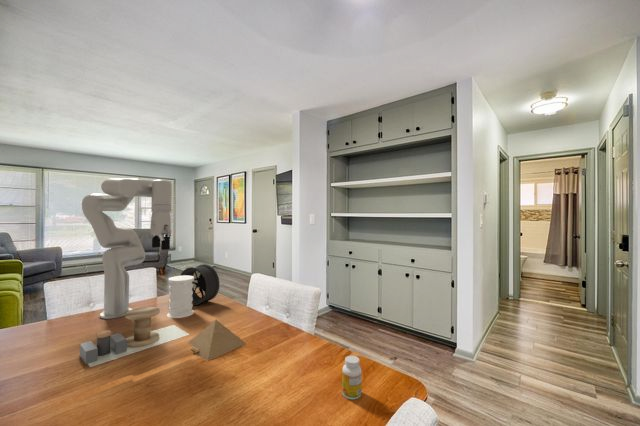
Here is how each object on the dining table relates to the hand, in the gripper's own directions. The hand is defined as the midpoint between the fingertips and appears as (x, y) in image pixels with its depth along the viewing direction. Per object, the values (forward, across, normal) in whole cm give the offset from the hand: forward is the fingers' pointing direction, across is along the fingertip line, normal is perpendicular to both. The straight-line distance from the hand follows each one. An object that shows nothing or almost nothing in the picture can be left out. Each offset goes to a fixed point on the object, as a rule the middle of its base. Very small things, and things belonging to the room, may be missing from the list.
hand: (160, 248), depth 122 cm
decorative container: (+34, -4, +11) cm, 35 cm away
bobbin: (+32, +13, -11) cm, 36 cm away
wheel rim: (+34, -16, +26) cm, 45 cm away
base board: (+33, +14, -12) cm, 38 cm away
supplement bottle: (+34, +88, +16) cm, 96 cm away
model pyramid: (+34, +34, +6) cm, 48 cm away
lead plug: (+32, +14, -23) cm, 42 cm away
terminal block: (+32, +14, -23) cm, 42 cm away
